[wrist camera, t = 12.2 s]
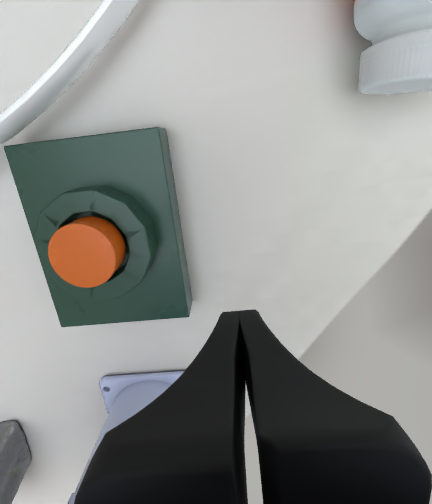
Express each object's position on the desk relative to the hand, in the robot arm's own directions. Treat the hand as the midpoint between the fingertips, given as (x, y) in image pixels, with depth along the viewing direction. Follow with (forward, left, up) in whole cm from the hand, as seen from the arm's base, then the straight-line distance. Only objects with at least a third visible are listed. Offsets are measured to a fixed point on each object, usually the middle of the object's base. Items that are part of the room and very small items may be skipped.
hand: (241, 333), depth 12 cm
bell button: (+2, +8, -7) cm, 11 cm away
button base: (+2, +8, -10) cm, 13 cm away
